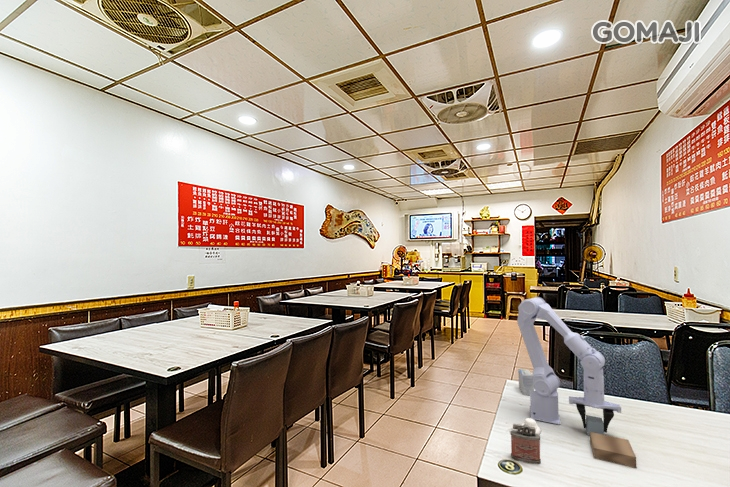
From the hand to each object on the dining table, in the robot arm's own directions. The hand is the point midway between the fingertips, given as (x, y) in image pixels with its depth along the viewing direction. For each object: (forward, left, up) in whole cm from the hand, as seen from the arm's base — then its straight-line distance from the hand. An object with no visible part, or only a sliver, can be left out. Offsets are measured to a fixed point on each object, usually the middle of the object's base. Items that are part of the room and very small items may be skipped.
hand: (594, 429), depth 113 cm
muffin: (-19, -14, -2) cm, 24 cm away
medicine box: (-22, +27, -2) cm, 35 cm away
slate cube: (0, 0, -2) cm, 2 cm away
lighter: (-20, -26, -2) cm, 33 cm away
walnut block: (+3, -11, -2) cm, 12 cm away
